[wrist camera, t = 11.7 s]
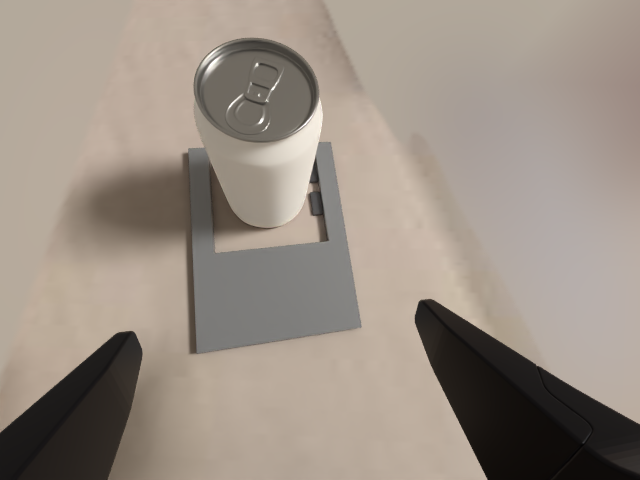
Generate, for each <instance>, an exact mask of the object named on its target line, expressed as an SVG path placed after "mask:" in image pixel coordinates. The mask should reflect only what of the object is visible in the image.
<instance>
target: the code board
mask: <svg viewBox="0 0 640 480" xmlns="http://www.w3.org/2000/svg"><path fill="white" fill-rule="evenodd" d="M188 155H189V179H190V202H191V226H192V250H193V274H194V298H195V322H196V346H197V353H203V352H210V351H216V350H222V349H229V348H235V347H241V346H248V345H254V344H260V343H266V342H273V341H279V340H285V339H292V338H298V337H304V336H311V335H317V334H323V333H330V332H336V331H342V330H348V329H355V328H361V327H362V326H361V320H360V314H359V308H358V302H357V296H356V290H355V284H354V278H353V272H352V266H351V260H350V254H349V248H348V242H347V236H346V230H345V224H344V218H343V212H342V206H341V200H340V194H339V188H338V182H337V176H336V170H335V164H334V158H333V152H332V146H331V142H318V147H317V151H316V155H315V160H314V164H313V168H312V172H311V177H310V181H309V183H313V182H318V181H319V187H320V192H311V193H310V197H311V204H312V211H313V215H323V214H324V220H325V227H326V234H327V240H328V241H326V242H316V243H307V244H297V245H288V246H278V247H269V248H259V249H250V250H240V251H231V252H221V253H215V245H214V228H213V211H212V194H211V178H210V161H209V157H208V154H207V152H206V149H205V148H189V149H188ZM315 161H316V165H315ZM316 167H317V172H316ZM317 174H318V179H317ZM320 194H321V198H320ZM321 201H322V205H321ZM322 207H323V212H322Z"/></svg>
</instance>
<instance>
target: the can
mask: <svg viewBox="0 0 640 480" xmlns="http://www.w3.org/2000/svg"><path fill="white" fill-rule="evenodd" d="M194 95H195V100H194V118H195V122H196V126H197V129H198V132H199V135H200V137H201V140H202V142H203V145H204V147H205V149H206V152H207V154H208V157H209V159H210V161H211V164H212V166H213V168H214V171H215V173H216V175H217V178H218V180H219V182H220V185H221V187H222V189H223V192H224V194H225V196H226V199H227V201H228V203H229V205H230V207H231V209H232V210H233V212H234V213H235V214H236V215H237V216H238V217H239V218H240V219H241V220H242V221H244V222H245V223H247V224H249V225H252V226H256V227H261V228H274V227H278V226H281V225H284V224H286V223H288V222H289V221H291V220H292V219H293V218H294V217H295V216H296V215H297V214H298V213H299V211H300V210H301V208H302V206H303V204H304V201H305V197H306V193H307V189H308V185H309V181H310V177H311V172H312V168H313V164H314V160H315V155H316V151H317V147H318V142H319V138H320V133H321V128H322V117H323V114H322V106H321V102H320V98H319V86H318V82H317V78H316V76H315V74H314V72H313V70H312V68H311V67H310V65H309V64H308V63H307V62H306V60H305V59H304V58H303V57H302V56H300V55H299V54H298V53H297V52H295V51H294V50H292V49H291V48H289V47H287V46H285V45H283V44H281V43H278V42H275V41H272V40H268V39H262V38H242V39H236V40H232V41H229V42H226V43H224V44H222V45H220V46H218V47H216V48H215V49H213V50H212V51H211V52H210V53H209V54H207V55H206V57H205V58H204V59H203V60H202V62H201V63H200V65H199V67H198V69H197V71H196V74H195V78H194Z"/></svg>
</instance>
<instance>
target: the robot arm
mask: <svg viewBox="0 0 640 480" xmlns="http://www.w3.org/2000/svg"><path fill="white" fill-rule="evenodd" d="M415 324H416V327H417V330H418V332H419V335H420V338H421V340H422V343H423V346H424V348H425V351H426V354H427V356H428V359H429V361H430V364H431V366H432V368H433V371H434V373H435V375H436V377H437V379H438V381H439V383H440V385H441V387H442V389H443V391H444V393H445V395H446V397H447V399H448V401H449V403H450V405H451V407H452V409H453V411H454V413H455V415H456V417H457V419H458V421H459V423H460V425H461V427H462V429H463V431H464V433H465V435H466V437H467V439H468V441H469V443H470V445H471V447H472V449H473V451H474V453H475V455H476V457H477V459H478V461H479V463H480V465H481V467H482V469H483V471H484V473H485V475H486V477H487V479H488V480H640V424H638V423H636V422H634V421H633V420H631V419H629V418H627V417H625V416H623V415H622V414H620V413H618V412H616V411H615V410H613V409H611V408H609V407H607V406H605V405H603V404H602V403H600V402H598V401H596V400H595V399H593V398H591V397H589V396H588V395H586V394H584V393H582V392H581V391H579V390H577V389H575V388H574V387H572V386H570V385H569V384H567V383H565V382H563V381H562V380H560V379H559V378H557V377H555V376H554V375H552V374H551V373H549V372H547V371H546V370H544V369H543V368H541V367H539V366H536V364H535V363H533V362H531V361H530V360H528V359H527V358H525V357H523V356H522V355H520V354H519V353H517V352H515V351H514V350H512V349H511V348H509V347H507V346H506V345H504V344H503V343H501V342H500V341H498V340H496V339H495V338H493V337H492V336H490V335H488V334H487V333H485V332H484V331H482V330H480V329H479V328H477V327H476V326H474V325H473V324H471V323H469V322H468V321H466V320H465V319H463V318H461V317H460V316H458V315H457V314H455V313H453V312H452V311H450V310H449V309H447V308H445V307H444V306H442V305H441V304H439V303H438V302H436V301H434V300H432V299H425V300H420V301H419V303H418V307H417V311H416V314H415ZM141 361H142V348H141V346H140V343H139V341H138V338H137V336H136V334H135V333H134V332H133V331H126V332H119V333H117V334H115V335H114V336H113V337H111V338H110V339H109V340H108V341H107V342H106V343H104V344H103V345H102V346H101V347H100V348H99V349H97V350H96V351H95V352H94V353H93V354H92V355H90V356H89V357H88V358H87V359H86V360H85V361H83V362H82V363H81V364H80V365H79V366H78V367H76V368H75V369H74V370H73V371H72V372H71V373H69V374H68V375H67V376H66V377H65V378H64V379H62V380H61V381H60V382H59V383H58V384H57V385H55V386H54V387H53V388H52V389H51V390H50V391H48V392H47V393H46V394H45V395H44V396H43V397H41V398H40V399H39V400H38V401H37V402H36V403H34V404H33V405H32V406H31V407H30V408H29V409H27V410H26V411H25V412H24V413H23V414H22V415H20V416H19V417H18V418H17V419H16V420H14V421H13V422H12V423H11V424H10V425H9V426H7V427H6V428H5V429H4V430H3V431H2V432H0V480H108V477H109V474H110V471H111V468H112V465H113V462H114V459H115V456H116V453H117V450H118V447H119V444H120V441H121V438H122V435H123V432H124V429H125V426H126V423H127V420H128V417H129V413H130V410H131V406H132V402H133V398H134V393H135V388H136V384H137V379H138V375H139V370H140V365H141Z"/></svg>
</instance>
